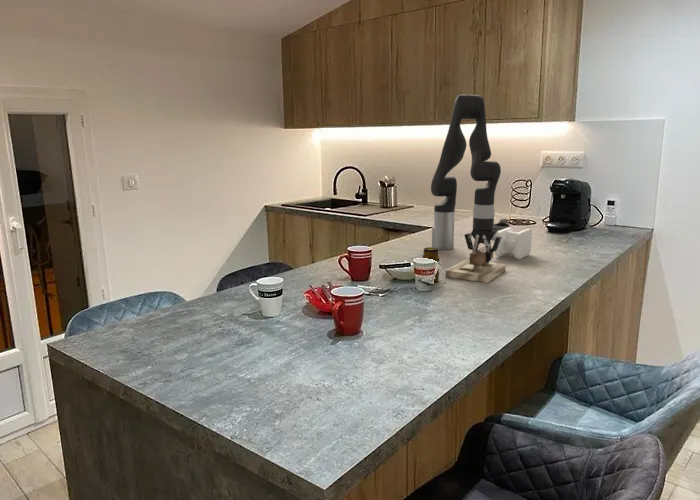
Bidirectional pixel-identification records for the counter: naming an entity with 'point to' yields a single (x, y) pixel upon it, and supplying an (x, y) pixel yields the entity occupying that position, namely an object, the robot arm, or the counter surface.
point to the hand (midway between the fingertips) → (481, 261)
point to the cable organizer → (514, 243)
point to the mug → (501, 225)
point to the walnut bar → (479, 258)
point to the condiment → (433, 254)
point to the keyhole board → (475, 271)
